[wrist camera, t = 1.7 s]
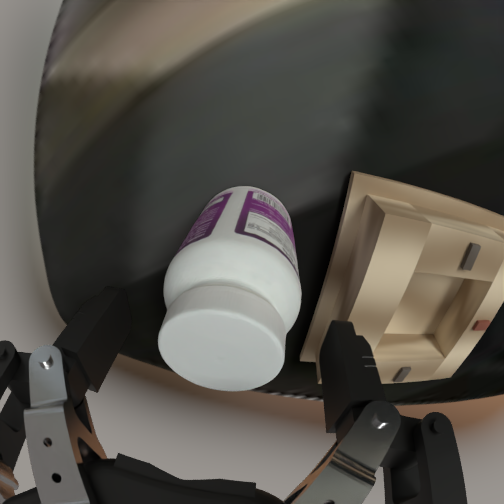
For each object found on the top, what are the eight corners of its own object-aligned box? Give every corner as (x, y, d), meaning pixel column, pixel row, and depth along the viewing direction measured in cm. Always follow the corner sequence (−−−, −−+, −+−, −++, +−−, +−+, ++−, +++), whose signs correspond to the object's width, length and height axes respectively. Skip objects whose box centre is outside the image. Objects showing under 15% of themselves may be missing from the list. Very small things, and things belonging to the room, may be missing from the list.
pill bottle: (214, 270, 18) (172, 399, 10) (192, 193, 16) (106, 298, 7) (297, 260, 17) (310, 398, 9) (285, 176, 15) (299, 279, 6)
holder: (351, 170, 14) (373, 190, 11) (512, 219, 14) (540, 242, 10) (299, 355, 21) (301, 393, 18) (440, 356, 21) (452, 385, 18)
